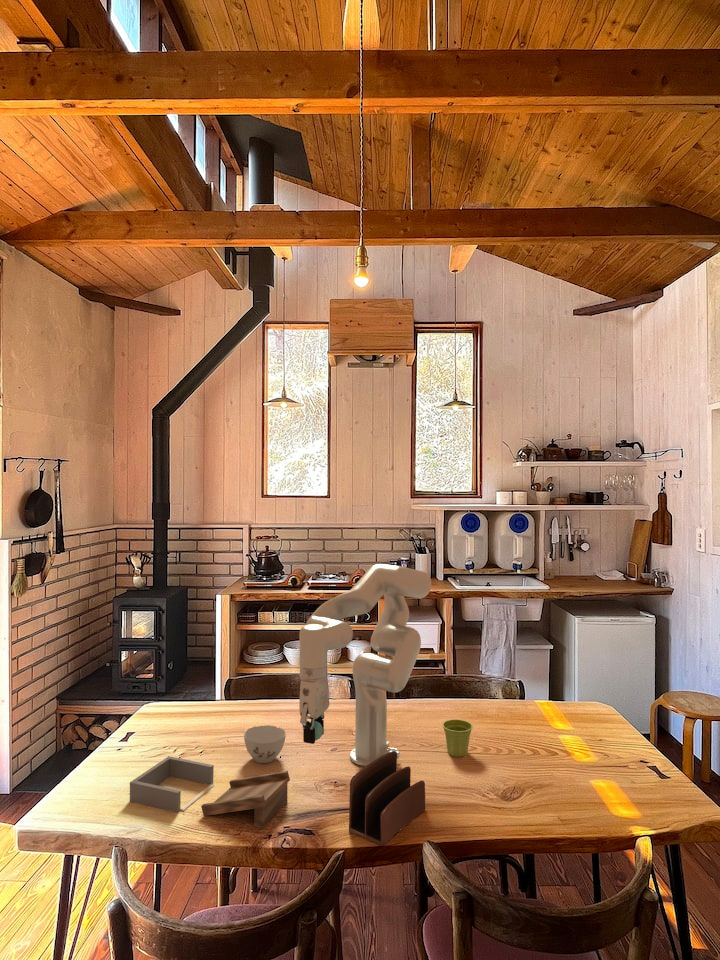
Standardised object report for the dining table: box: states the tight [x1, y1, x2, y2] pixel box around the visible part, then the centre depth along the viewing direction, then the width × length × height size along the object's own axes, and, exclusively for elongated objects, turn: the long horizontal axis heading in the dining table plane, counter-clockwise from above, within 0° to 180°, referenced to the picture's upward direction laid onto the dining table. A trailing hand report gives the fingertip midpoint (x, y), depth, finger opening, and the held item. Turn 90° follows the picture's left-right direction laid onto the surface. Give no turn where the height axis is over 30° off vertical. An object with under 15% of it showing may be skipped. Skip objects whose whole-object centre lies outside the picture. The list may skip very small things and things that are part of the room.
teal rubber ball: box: [309, 721, 324, 742], centre depth 165 cm, size 5×5×5 cm
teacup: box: [243, 724, 287, 764], centre depth 185 cm, size 15×12×8 cm
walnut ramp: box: [200, 770, 291, 829], centre depth 157 cm, size 18×14×8 cm
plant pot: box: [442, 718, 474, 758], centre depth 189 cm, size 9×9×9 cm
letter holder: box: [348, 751, 427, 847], centre depth 152 cm, size 10×20×14 cm, turn 143°
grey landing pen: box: [129, 756, 215, 813], centre depth 164 cm, size 16×16×5 cm
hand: (313, 737), depth 165 cm, fingers closed on teal rubber ball, 4 cm apart
